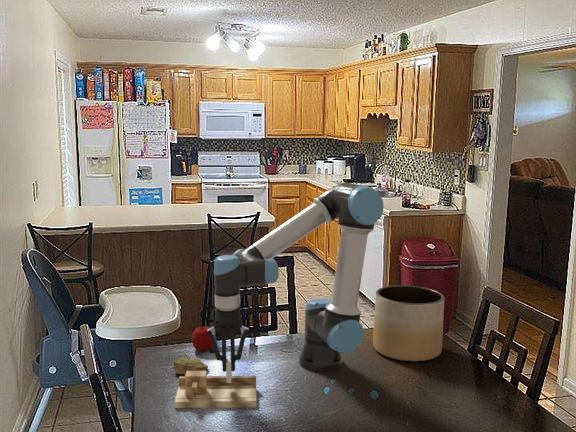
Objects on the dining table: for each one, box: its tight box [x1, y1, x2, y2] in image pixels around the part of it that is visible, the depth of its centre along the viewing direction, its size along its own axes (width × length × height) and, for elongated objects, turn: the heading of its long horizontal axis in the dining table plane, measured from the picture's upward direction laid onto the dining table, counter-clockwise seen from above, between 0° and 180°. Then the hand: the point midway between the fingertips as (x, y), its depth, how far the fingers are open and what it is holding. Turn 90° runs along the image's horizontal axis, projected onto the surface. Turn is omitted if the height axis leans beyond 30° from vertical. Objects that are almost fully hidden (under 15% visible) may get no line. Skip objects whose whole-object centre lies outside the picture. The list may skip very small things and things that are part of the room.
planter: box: [372, 284, 445, 363], centre depth 216 cm, size 25×25×22 cm
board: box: [174, 375, 257, 409], centre depth 176 cm, size 24×12×4 cm, turn 94°
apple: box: [191, 324, 217, 353], centre depth 214 cm, size 9×9×10 cm
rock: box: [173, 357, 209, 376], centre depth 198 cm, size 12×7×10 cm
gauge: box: [184, 370, 207, 397], centre depth 173 cm, size 6×8×6 cm
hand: (229, 380), depth 178 cm, fingers closed
